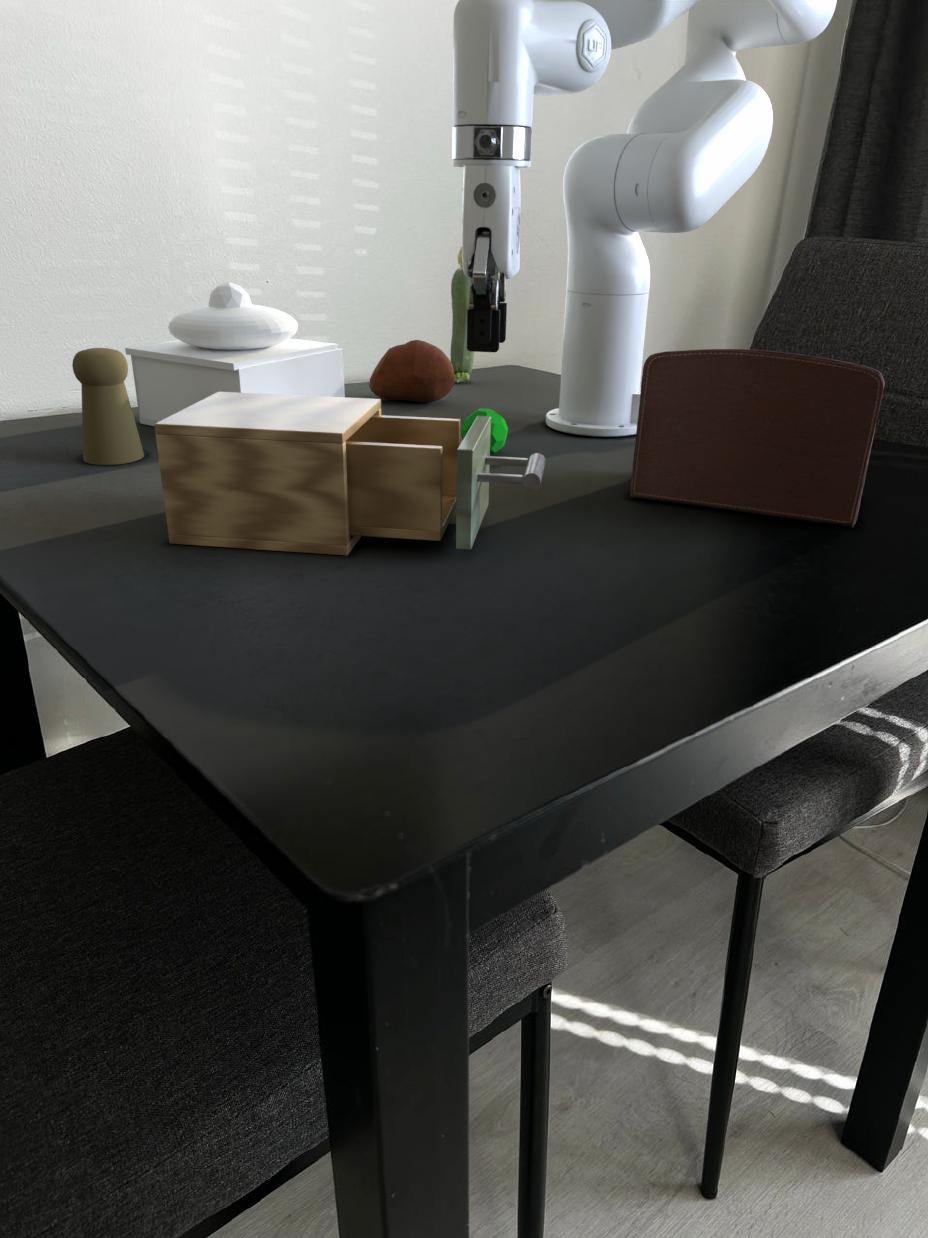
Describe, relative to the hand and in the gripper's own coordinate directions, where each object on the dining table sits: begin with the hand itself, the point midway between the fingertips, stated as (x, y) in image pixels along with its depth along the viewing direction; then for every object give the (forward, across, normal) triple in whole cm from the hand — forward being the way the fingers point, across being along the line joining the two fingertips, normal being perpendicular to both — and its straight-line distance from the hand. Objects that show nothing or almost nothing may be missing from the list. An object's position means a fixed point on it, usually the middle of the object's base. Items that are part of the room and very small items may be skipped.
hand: (486, 344), depth 94 cm
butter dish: (+12, +10, +31) cm, 35 cm away
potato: (+12, +26, +13) cm, 31 cm away
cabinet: (+12, -26, +14) cm, 32 cm away
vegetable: (+12, +41, +8) cm, 43 cm away
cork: (+12, -9, +38) cm, 41 cm away
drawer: (+11, -26, +1) cm, 28 cm away
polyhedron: (+12, 0, 0) cm, 12 cm away
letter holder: (+12, -11, -26) cm, 31 cm away
